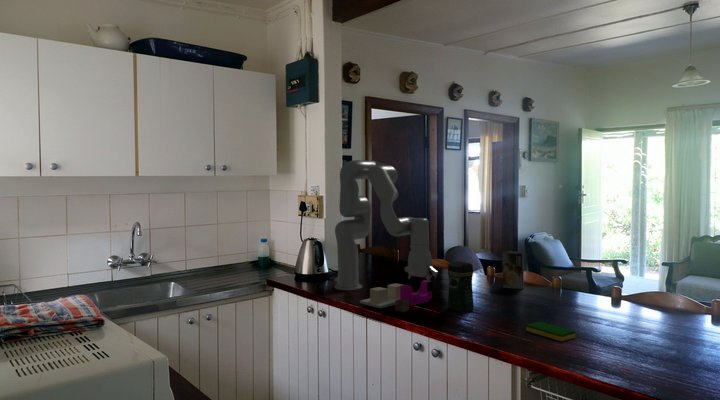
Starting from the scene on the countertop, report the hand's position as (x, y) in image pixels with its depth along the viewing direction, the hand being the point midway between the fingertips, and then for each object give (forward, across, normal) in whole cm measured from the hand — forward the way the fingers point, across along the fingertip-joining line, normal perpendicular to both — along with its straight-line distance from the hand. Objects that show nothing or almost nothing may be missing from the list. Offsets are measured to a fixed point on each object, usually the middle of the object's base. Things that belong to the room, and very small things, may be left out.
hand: (421, 289), depth 212 cm
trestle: (+5, -11, -9) cm, 15 cm away
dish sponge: (+7, +57, -2) cm, 58 cm away
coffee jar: (+6, +18, +2) cm, 19 cm away
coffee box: (+6, +11, +50) cm, 51 cm away
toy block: (+5, -1, 0) cm, 6 cm away
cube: (+5, +3, -15) cm, 16 cm away
